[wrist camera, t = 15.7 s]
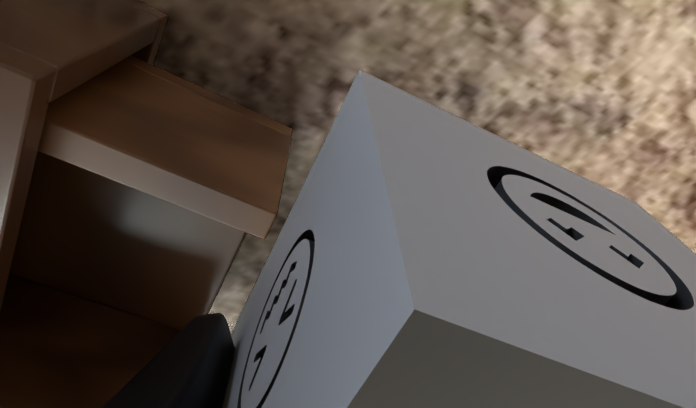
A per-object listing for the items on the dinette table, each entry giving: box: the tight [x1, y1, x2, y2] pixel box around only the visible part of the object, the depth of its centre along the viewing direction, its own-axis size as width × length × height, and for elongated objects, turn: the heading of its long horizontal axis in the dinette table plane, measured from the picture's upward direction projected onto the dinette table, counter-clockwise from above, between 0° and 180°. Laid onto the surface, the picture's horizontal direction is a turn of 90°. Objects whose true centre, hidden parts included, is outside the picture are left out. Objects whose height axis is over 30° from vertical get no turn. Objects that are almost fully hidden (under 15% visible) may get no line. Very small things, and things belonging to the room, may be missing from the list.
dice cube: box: [222, 69, 696, 408], centre depth 6 cm, size 5×5×5 cm
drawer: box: [0, 55, 293, 408], centre depth 15 cm, size 23×11×6 cm, turn 63°
